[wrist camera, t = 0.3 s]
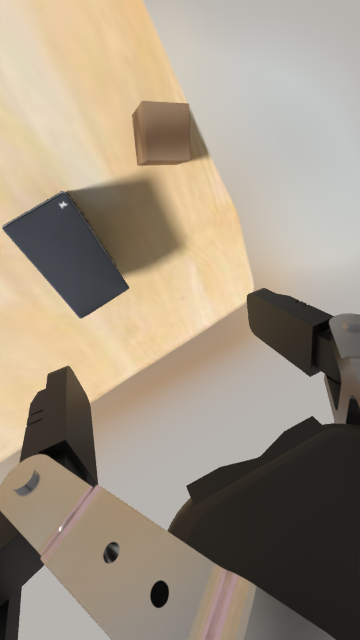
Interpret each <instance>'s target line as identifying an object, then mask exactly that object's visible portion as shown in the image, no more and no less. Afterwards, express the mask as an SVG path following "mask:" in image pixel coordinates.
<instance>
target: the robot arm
mask: <svg viewBox="0 0 360 640" xmlns="http://www.w3.org/2000/svg"><path fill="white" fill-rule="evenodd" d="M247 308H248V318H249V325H250V328H251V330H252V332H253V333H254V335H255V336H257V337H258V338H259V339H261V340H262V341H263V342H265V343H266V344H267V345H269V346H270V347H271V348H273V349H274V350H275V351H277V352H278V353H279V354H281V355H282V356H283V357H285V358H286V359H287V360H289V361H290V362H291V363H293V364H294V365H295V366H297V367H298V368H299V369H301V370H302V371H303V372H305V373H306V374H307V375H308V376H310V377H311V376H313V375H315V374H317V373H318V372H320V371H322V372H323V373H325V375H324V381H325V385H326V389H327V393H328V397H329V401H330V405H331V409H332V413H333V416H334V422H335V423H333V424H324V425H322V424H320V423H319V422H318V421H317V420H316V419H315V418H314V417H313V416H311V417H310V418H308V419H306V420H304V421H302V422H301V423H299V424H297V425H295V426H293V427H292V428H290V429H288V430H286V431H284V432H283V433H282V434H281V435H280V436H279V438H278V439H277V440H276V441H275V442H274V443H273V444H272V445H271V446H270V447H269V448H268V449H267V450H266V451H265V452H264V453H263V454H262V455H261V456H260V457H258V458H255V459H251V460H247V461H244V462H239V463H235V464H231V465H228V466H223V467H220V468H218V469H216V470H214V471H212V472H211V473H209V474H207V475H205V476H203V477H202V478H200V479H198V480H196V481H194V482H193V483H191V484H189V485H187V486H186V487H187V489H188V491H189V494H190V497H191V498H190V499H189V500H188V501H187V502H186V503H185V504H184V505H183V506H182V508H181V509H180V510H179V512H178V513H177V514H176V516H175V518H174V519H173V521H172V523H171V525H170V527H169V529H168V531H166V530H165V529H163V528H162V527H160V526H159V525H157V524H156V523H154V522H153V521H151V520H150V519H148V518H147V517H146V516H144V515H143V514H141V513H140V512H138V511H137V510H135V509H134V508H132V507H131V506H129V505H128V504H126V503H124V502H123V501H122V500H120V499H119V498H117V497H116V496H115V495H113V494H111V493H110V492H109V491H107V490H106V489H104V488H103V487H101V486H99V485H98V478H97V468H96V459H95V448H94V438H93V428H92V417H91V407H90V403H89V400H88V397H87V395H86V393H85V391H84V390H83V388H82V386H81V384H80V383H79V381H78V379H77V377H76V376H75V374H74V372H73V370H72V369H71V368H70V367H69V366H66V367H63V368H61V369H58V370H56V371H53V372H51V373H49V374H48V376H47V384H46V389H44V390H41V391H39V392H38V393H37V395H36V396H35V398H34V399H33V401H32V402H31V404H30V409H29V417H28V420H27V427H26V431H25V436H24V441H23V446H22V452H21V457H20V462H19V464H18V465H17V466H15V467H14V468H13V469H12V470H11V471H10V472H9V473H8V475H7V476H6V477H5V478H4V480H3V481H2V483H1V485H0V640H18V628H19V615H20V602H21V589H22V586H23V585H24V584H25V583H26V582H27V581H28V580H29V579H30V578H31V577H32V576H33V575H34V574H35V573H36V572H37V571H39V570H40V569H41V568H42V567H43V565H46V567H47V568H48V569H49V570H50V571H51V572H52V573H53V575H54V576H55V577H56V578H57V579H58V580H59V581H60V582H61V584H62V585H63V586H64V587H65V588H66V589H67V590H68V591H69V593H70V594H71V595H72V596H73V597H74V598H75V599H76V600H77V601H78V603H79V604H80V605H81V606H82V607H83V608H84V609H85V610H86V612H87V613H88V614H89V615H90V616H91V617H92V618H93V619H94V621H95V622H96V623H97V624H98V625H99V626H100V627H101V628H102V630H104V632H105V633H106V634H107V635H108V636H109V637H110V638H111V640H360V315H359V314H340V315H337V316H332V315H330V314H328V313H325V312H323V311H321V310H319V309H317V308H314V307H312V306H310V305H307V304H306V303H303V302H301V301H300V302H299V300H297V299H295V298H293V297H290V296H287V295H281V294H276V293H274V292H272V291H270V290H268V289H265V288H262V289H260V290H257V291H255V292H252V293H250V294H248V295H247Z"/></svg>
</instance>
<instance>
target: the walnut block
mask: <svg viewBox="0 0 360 640" xmlns="http://www.w3.org/2000/svg"><path fill="white" fill-rule="evenodd" d="M132 118H133V127H134V137H135V146H136V156H137V165H176V164H179V163H182V162H185V161H188V160H190V125H189V104H184V103H167V102H151V101H142V102H141V103H140V105H139V106H138V108H137V109H136V110H135V112H134V113H133V115H132Z"/></svg>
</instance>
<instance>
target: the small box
mask: <svg viewBox="0 0 360 640" xmlns="http://www.w3.org/2000/svg"><path fill="white" fill-rule="evenodd" d="M2 229H3V230H4V231H5V233H6V234H7V235H8V236H9V237H10V238H11V239H12V241H13V242H14V243H15V244H16V245H17V246H18V247H19V249H20V250H21V251H22V252H23V253H24V254H25V255H26V257H27V258H28V259H29V260H30V261H31V262H32V264H33V265H34V266H35V267H36V268H37V269H38V270H39V272H40V273H41V274H42V275H43V276H44V277H45V279H46V280H47V281H48V282H49V283H50V284H51V285H52V287H53V288H54V289H55V290H56V291H57V292H58V294H59V295H60V296H61V297H62V298H63V299H64V301H65V302H66V303H67V304H68V305H69V306H70V308H71V309H72V310H73V311H74V312H75V313H76V315H77V316H78V317H79V318H83V317H85V316H87V315H89V314H90V313H92V312H93V311H95V310H96V309H98V308H100V307H101V306H103V305H104V304H106V303H107V302H109V301H111V300H112V299H114V298H115V297H117V296H119V295H120V294H122V293H123V292H125V291H126V290H128V289H129V286H128V285H127V283H126V282H125V280H124V279H123V277H122V275H121V274H120V272H119V271H118V269H117V267H116V265H115V263H114V262H113V260H112V259H111V257H110V256H109V254H108V252H107V251H106V249H105V248H104V246H103V245H102V243H101V242H100V240H99V239H98V237H97V235H96V234H95V232H94V231H93V229H92V228H91V226H90V224H89V223H88V221H87V220H86V219H85V217H84V215H83V213H82V212H81V211H80V210H79V208H78V207H77V205H76V204H75V202H74V201H73V199H72V198H71V197H70V195H69V193H67V192H64V191H61V192H60V193H58V194H57V195H55V196H53V197H51V198H50V199H48V200H46V201H44V202H43V203H41V204H39V205H38V206H36V207H34V208H32V209H31V210H29V211H27V212H25V213H24V214H22V215H20V216H19V217H17V218H15V219H13V220H12V221H10V222H8V223H6V224H5V225H3V227H2Z"/></svg>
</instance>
